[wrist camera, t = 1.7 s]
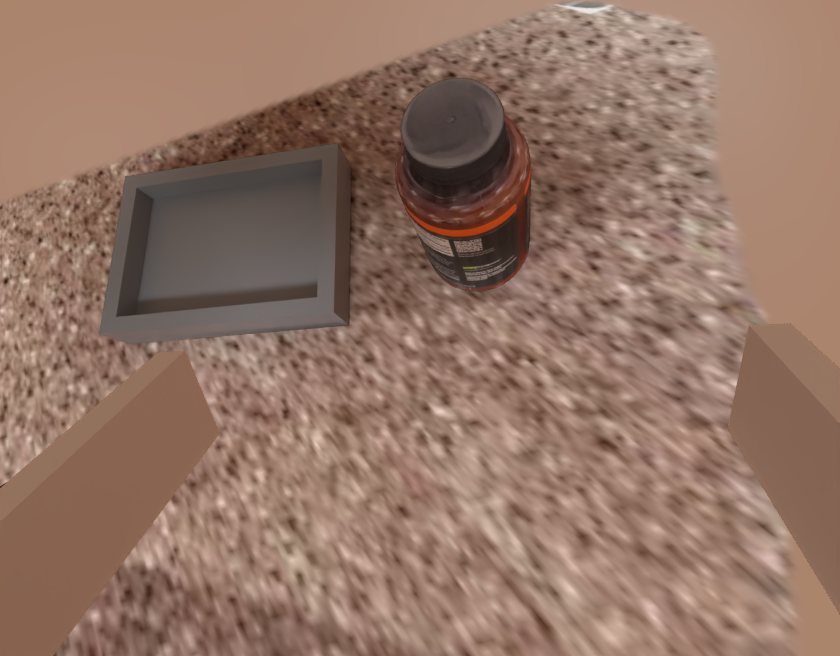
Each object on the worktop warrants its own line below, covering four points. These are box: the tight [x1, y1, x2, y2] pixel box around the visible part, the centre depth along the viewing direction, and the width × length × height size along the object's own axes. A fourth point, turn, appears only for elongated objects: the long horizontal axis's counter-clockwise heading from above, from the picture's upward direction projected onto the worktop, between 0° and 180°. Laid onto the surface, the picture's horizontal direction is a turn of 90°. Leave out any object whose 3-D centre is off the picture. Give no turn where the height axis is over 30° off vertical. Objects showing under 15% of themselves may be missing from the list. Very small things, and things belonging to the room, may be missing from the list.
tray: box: [99, 143, 351, 344], centre depth 31 cm, size 15×11×2 cm
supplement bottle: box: [395, 78, 531, 291], centre depth 23 cm, size 6×6×11 cm
